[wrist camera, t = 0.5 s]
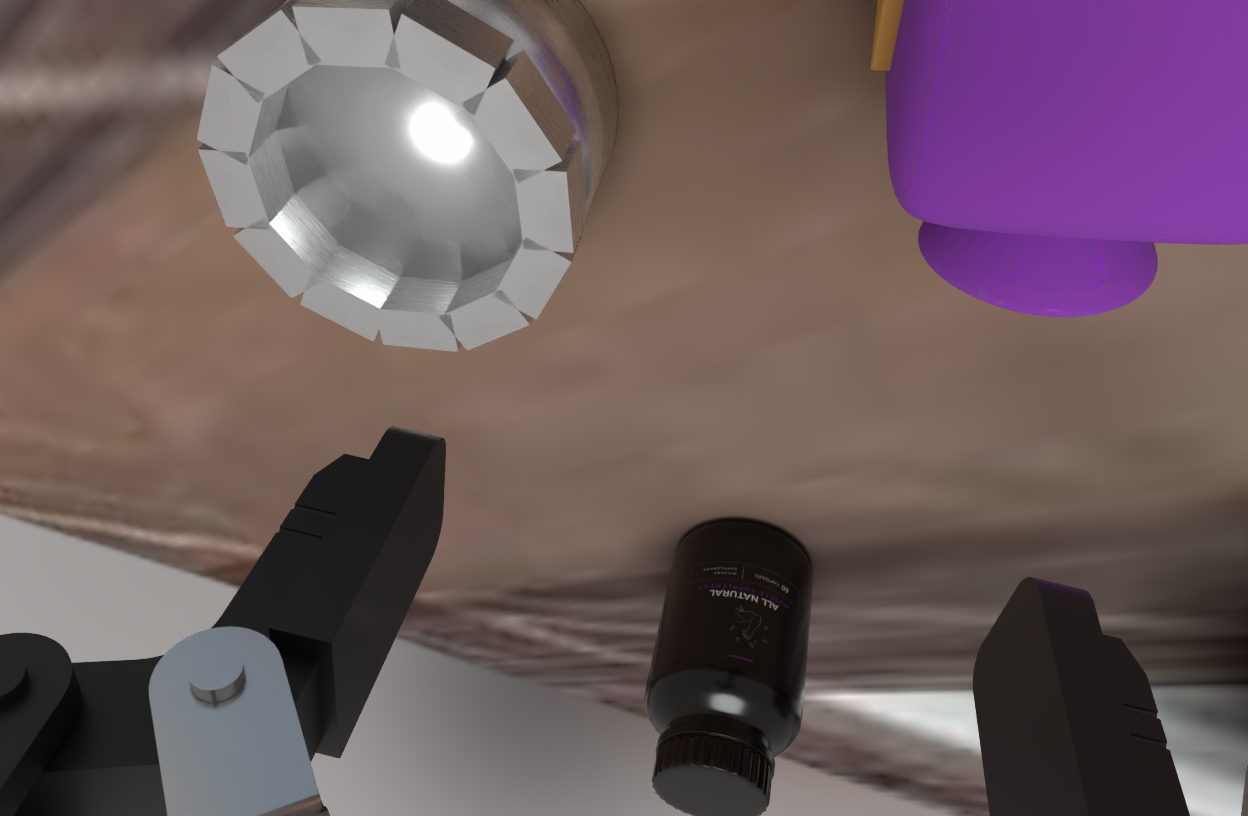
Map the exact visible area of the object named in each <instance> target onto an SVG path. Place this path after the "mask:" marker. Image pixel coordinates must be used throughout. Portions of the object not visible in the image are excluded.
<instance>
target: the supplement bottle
mask: <svg viewBox="0 0 1248 816" xmlns="http://www.w3.org/2000/svg"><path fill="white" fill-rule="evenodd" d="M812 582H813V577H812V569H811V565H810V562H809V560H808V558H807V556H806V555H805V553H804V552H803V551H802V549H801V548H800V547H799V546H798V545H797V544H796V543H795V542H794V541H793V540H791V539H790V538H789V537H787V536H786V535H784V534H782V533H780V532H778V531H776V530H774V529H772V528H770V527H767V526H764V525H760V524H757V523H752V522H745V521H723V522H716V523H712V524H708V525H705V526H703V527H700V528H698V529H696V530H695V531H693V532H692V533H690V534H689V535H688V536H687V537H685V539H684V540H683V541H682V542H681V543H680V545H679V546H678V548H677V550H676V553H675V556H674V560H673V564H672V569H671V573H670V577H669V582H668V587H667V591H666V596H665V601H664V605H663V610H662V615H661V620H660V624H659V629H658V634H657V638H656V643H655V648H654V652H653V657H652V662H651V666H650V671H649V676H648V680H647V686H646V692H645V706H646V711H647V714H648V717H649V719H650V721H651V723H652V725H653V727H654V728H655V730H656V731H657V732H658V733H659V734H660V737H659V739H658V743H657V747H656V761H655V766H654V771H653V776H652V782H653V788H654V789H655V790H656V793H657V794H658V795H659V796H660V798H661V799H663V800H664V801H665V802H666V803H667V804H669V805H671V806H673V807H674V808H675V809H678V810H681V811H683V812H684V813H687V814H691V815H693V816H759V815H761V814H762V812H765V811H766V808H767V807H768V805H769V800H770V790H771V780H772V778H773V776H774V769H775V760H774V757H776V756H778V755H780V754H781V753H783V752H784V751H785V750H786V749H787V748H788V747H789V746H790V745H791V744H792V743H793V741H794V740H795V738H796V737H797V735H798V733H799V730H800V726H801V720H802V712H803V700H804V688H805V675H806V663H807V650H808V637H809V625H810V612H811V599H812Z"/></svg>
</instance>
